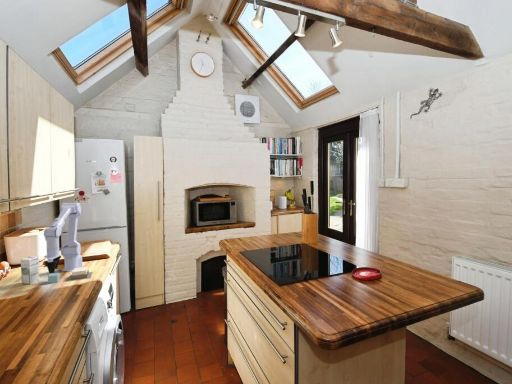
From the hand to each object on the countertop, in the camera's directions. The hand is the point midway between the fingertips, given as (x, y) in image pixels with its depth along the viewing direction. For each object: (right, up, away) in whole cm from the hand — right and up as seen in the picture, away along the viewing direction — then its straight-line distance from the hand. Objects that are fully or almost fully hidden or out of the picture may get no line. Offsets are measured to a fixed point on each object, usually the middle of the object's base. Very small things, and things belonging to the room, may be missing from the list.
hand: (53, 270), depth 150 cm
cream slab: (+10, -4, +8) cm, 13 cm away
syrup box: (-13, -7, -1) cm, 14 cm away
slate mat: (+10, -6, +8) cm, 14 cm away
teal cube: (0, -7, 0) cm, 7 cm away
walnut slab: (+10, -6, +8) cm, 14 cm away
